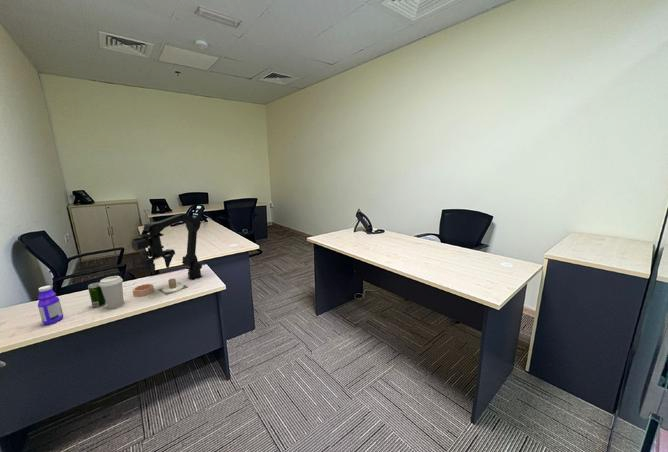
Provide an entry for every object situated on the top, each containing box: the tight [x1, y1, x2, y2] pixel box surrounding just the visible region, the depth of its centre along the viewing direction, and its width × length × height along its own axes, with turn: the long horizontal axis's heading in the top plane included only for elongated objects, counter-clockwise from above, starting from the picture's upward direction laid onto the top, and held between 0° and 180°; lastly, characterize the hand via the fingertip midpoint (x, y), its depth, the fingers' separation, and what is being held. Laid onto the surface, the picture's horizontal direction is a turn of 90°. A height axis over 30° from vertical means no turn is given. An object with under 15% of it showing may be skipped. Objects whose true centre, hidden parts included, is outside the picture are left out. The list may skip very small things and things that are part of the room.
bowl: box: [132, 283, 155, 297], centre depth 151 cm, size 10×10×4 cm
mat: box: [158, 284, 189, 296], centre depth 155 cm, size 12×12×1 cm
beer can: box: [87, 281, 107, 309], centre depth 137 cm, size 5×5×12 cm
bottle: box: [37, 285, 64, 325], centre depth 123 cm, size 7×6×17 cm
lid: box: [161, 278, 185, 294], centre depth 155 cm, size 11×11×6 cm
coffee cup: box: [99, 275, 125, 310], centre depth 136 cm, size 10×10×15 cm
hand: (160, 271), depth 151 cm, fingers open, 9 cm apart
